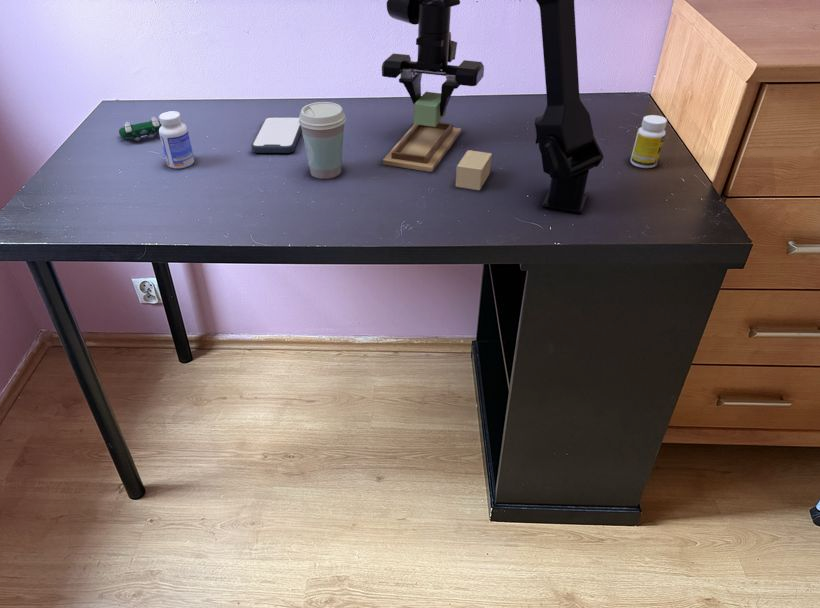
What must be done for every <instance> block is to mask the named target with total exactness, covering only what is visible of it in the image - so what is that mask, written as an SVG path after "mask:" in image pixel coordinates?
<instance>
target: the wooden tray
mask: <svg viewBox="0 0 820 608" xmlns="http://www.w3.org/2000/svg"><path fill="white" fill-rule="evenodd" d="M461 133H462V128H461V127H454V123H449V122H441V121H440V122H439V123H438V124H437V126H436V127H432V126H424V125H416V124H414V123H413V125H412V126H411V127H410V128H409V129H408V130H407V131H406V132H405V134H404V135H403V136H402V137H401V138H400V140H398V142H397V143H396V144H395V145H394V146H393V148H392V149H391V150H389V152H388V153H387V154H386V155H385V156H384V158H383V159H382V165H383V166H391V167H396V168H401V169H402V168H403V169H410V170H415V171H422V172H429V173H433V172H434V170H435V169H436V167H437V166H438V164H440V162H441V161H442V159H443V158H444V157H445V155H446V154H447V152H448V151H449V150H450V148H451V147H452V146H453V144H454V143H455V142H456V140H457V139H458V137H459V136H460V135H461Z"/></svg>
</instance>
